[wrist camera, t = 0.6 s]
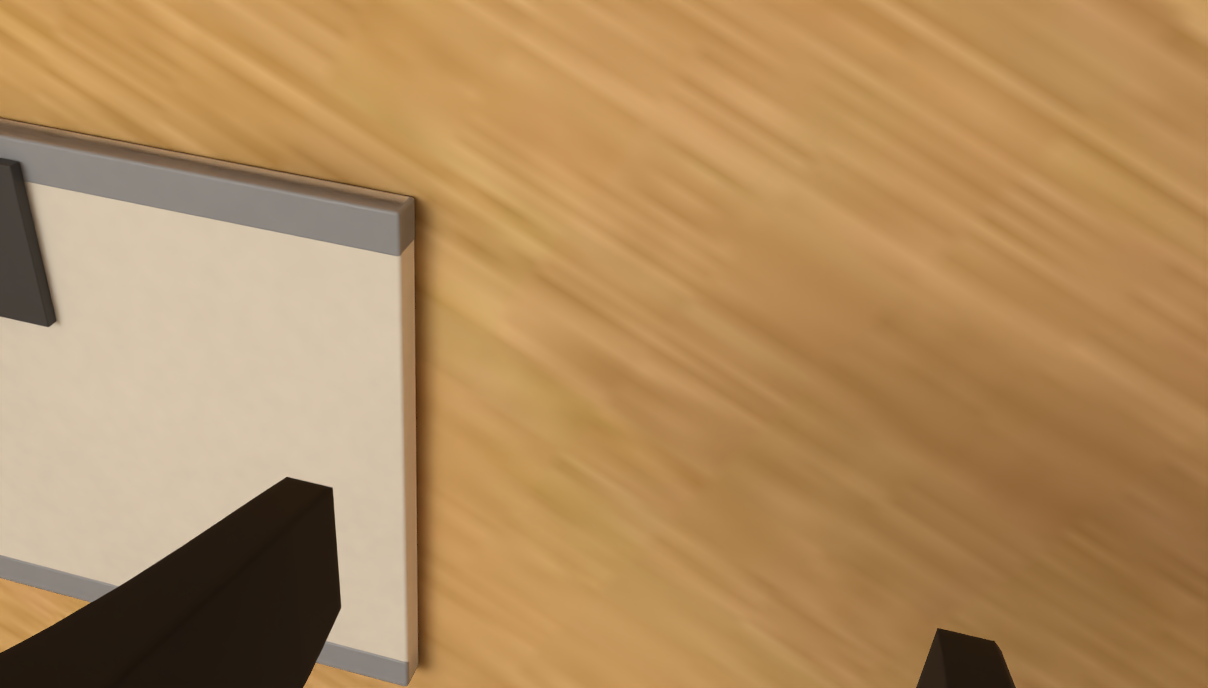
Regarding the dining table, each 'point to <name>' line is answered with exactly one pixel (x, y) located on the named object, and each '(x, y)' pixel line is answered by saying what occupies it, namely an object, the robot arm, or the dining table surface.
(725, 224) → the dining table surface
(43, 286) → the dark grey tile
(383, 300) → the whiteboard
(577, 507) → the dining table surface
